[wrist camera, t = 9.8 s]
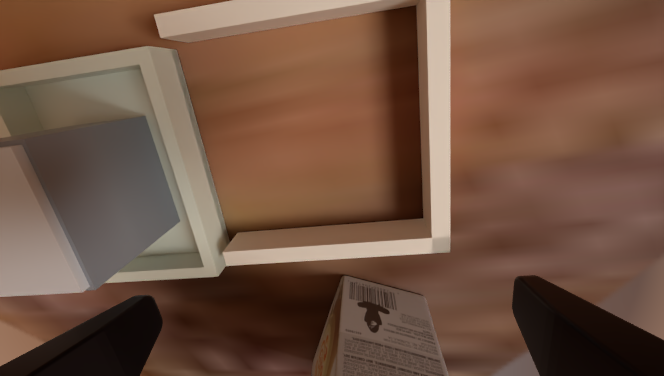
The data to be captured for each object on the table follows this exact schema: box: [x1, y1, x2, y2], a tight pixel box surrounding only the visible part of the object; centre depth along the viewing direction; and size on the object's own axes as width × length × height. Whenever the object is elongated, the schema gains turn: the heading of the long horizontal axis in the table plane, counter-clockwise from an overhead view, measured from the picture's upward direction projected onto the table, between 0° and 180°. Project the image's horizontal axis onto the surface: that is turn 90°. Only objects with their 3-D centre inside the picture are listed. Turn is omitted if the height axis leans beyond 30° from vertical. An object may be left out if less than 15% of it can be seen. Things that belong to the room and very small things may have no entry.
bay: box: [154, 0, 450, 266], centre depth 17 cm, size 14×14×2 cm
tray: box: [0, 46, 230, 283], centre depth 19 cm, size 10×14×2 cm
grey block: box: [0, 116, 180, 297], centre depth 16 cm, size 5×7×7 cm
